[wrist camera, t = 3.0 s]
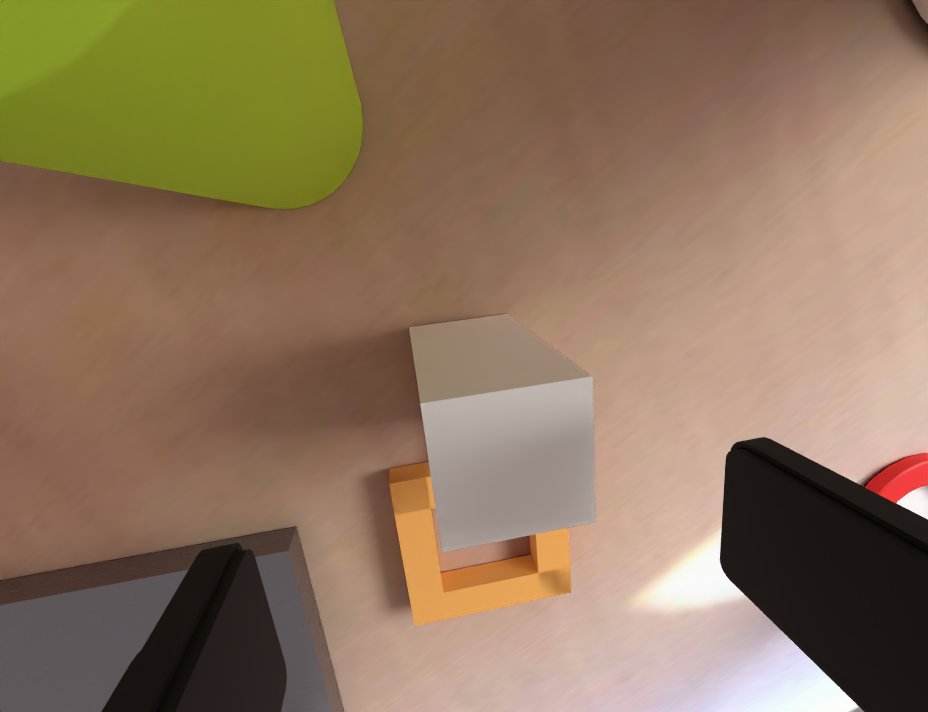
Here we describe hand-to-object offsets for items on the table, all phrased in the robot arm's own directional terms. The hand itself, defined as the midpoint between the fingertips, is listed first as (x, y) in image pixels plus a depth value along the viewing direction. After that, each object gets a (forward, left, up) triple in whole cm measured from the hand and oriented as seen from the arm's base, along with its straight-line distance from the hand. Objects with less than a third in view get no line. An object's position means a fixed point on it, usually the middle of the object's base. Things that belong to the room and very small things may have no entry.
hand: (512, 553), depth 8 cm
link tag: (+4, +1, -10) cm, 11 cm away
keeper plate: (+13, -14, -10) cm, 22 cm away
